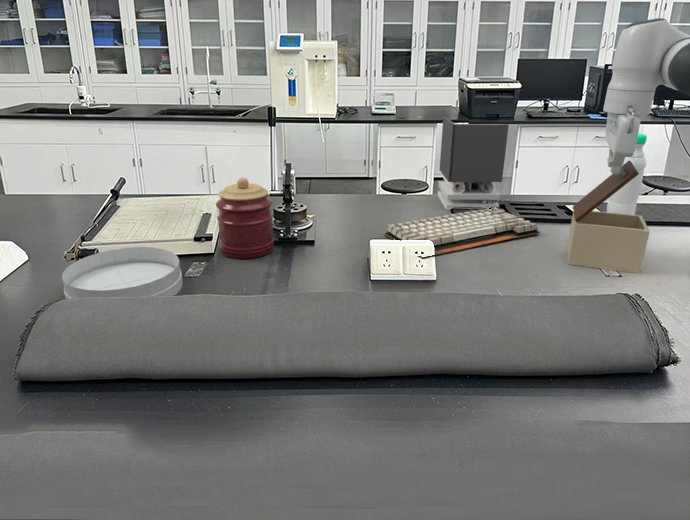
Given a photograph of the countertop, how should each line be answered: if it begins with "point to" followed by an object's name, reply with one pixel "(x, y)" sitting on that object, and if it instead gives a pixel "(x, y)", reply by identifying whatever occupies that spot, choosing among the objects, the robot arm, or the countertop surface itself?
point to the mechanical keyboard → (464, 229)
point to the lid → (604, 190)
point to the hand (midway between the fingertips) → (613, 169)
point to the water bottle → (630, 183)
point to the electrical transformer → (471, 164)
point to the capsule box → (608, 241)
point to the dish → (124, 274)
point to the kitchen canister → (245, 220)
